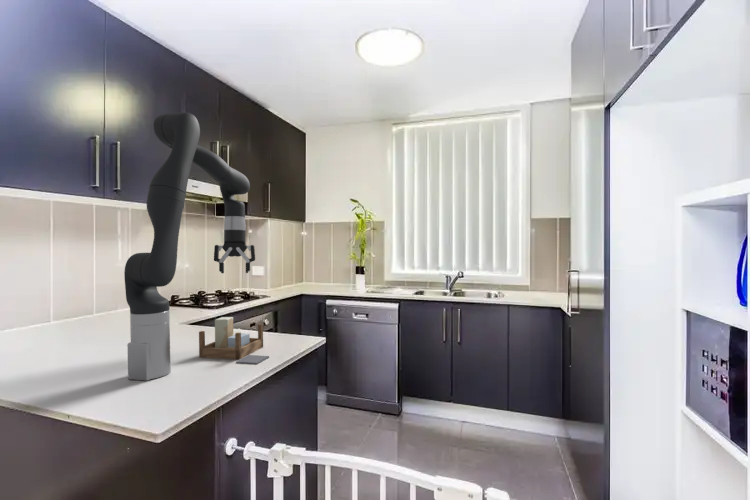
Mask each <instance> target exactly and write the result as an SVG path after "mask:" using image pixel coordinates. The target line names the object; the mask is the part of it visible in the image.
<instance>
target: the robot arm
mask: <svg viewBox="0 0 750 500" xmlns="http://www.w3.org/2000/svg"><path fill="white" fill-rule="evenodd" d="M153 131H154V134H155V136H156V138H157V139H158V140H159V141H160V143H162V144H164V145H165V146H166V147H168V148H170V149H171V151H170V154H169V155H168V157H167V158H166V160H165V161H164V163H163V164H162V165H161V166H160V167H159V169H158V170H157V171H156V173H155V174H154V175H153V177H152V179H151V180H150V183H149V187H148V191H147V192H148V193H147V198H146V210H147V213H148V216H149V219H150V221H151V225H152V227H153V242H152V247H151V249H150V250H151V251H150V252H137V253H134V254H132V255H131V256H130V257H128V259H127V260H126V262H125V266H124V271H123V273H124V288H125V289H124V290H125V299H126V303H127V304H128V306H129V313H130V314H129V319H130V320H129V321H130V341H129V342H128V343H127V345H126V346H127V378H128V380H133V381H134V380H137V381H150V380H152V379H158V378H162V377H164V376H167V375H169V374H170V373H171V370H172V369H171V368H172V367H171V365H172V364H171V330H170V329H171V328H170V327H171V326H170V325H171V323H170V321H171V320H170V319H171V317H170V314H171V313H170V301H169V299H167V298H166V297H164V296H162V295H161V294H160V293H159V291H158V288H161V287H166V286H167V285H169V284H171V282H172V280H173V279H174V277H175V274H176V269H177V262H178V261H177V260H178V246H179V235H180V228H181V221H182V217H183V216H182V215H183V211H184V206H185V200H186V195H187V188H188V182H189V178H190V174H191V173H190V172H191V169H192V163H194V164H195V165H196V166H197V167H200V169H202V170H203V171H204V172H205V173H206V174H208V176H210V177H211V178H212V179H213V180H214V181H216V182H217V183H219V191H220V193H221V196H222V201H223V204H224V220H223V222H224V223H223V245H219V244H214V249H213V250H214V252H213V262H216V263H217V262H218V266H219V269H218V270H219V272H220V274H225V263H224V262H225V260H226V259H228V257H231V258H232V257H235V258H236V257H242V259H244V261H245V274H248V273H249V272H250V271H251V263H252V262H255V261H256V249H255V245H254V244H250V245H247V243H246V242H247V241H246V237H247V235H246V233H247V232H246V231H247V230H246V229H247V226H246V224H247V223H246V205H245V202H243V201H241V200H236V198H235V196H236V195H237V196H239V195H245V194H247V193H249V191H250V188H251V185H250V184H251V183H250V181H249V178H248V177H247V176H246V175H245V174H243V173H242V172H240V171H239V170H237V169H235V168H233V167H231V166H230V164H228V163H227V162H226V161H225V160H224V159H222V157H220V156H219V155H218V154H216V153H215V152H213V151H212V150H209V149H208V148H206V147H203V146H202V145H199V140H200V136H201V128H200V123H199V121H198V119H197V117H196V116H195V115H194V114H192V113H190V112H187V111H186V112H184V111H183V112H182V111H181V112H173V113H171V112H170V113H164V114H159V115H158V116H156V118H154V120H153ZM247 249H248V251H249V252H250V258H249V256H248V255H247V254H246V253H245V252H246V250H247ZM222 250H224V253H223V255H222V256H221V258H220V252H221V251H222ZM157 287H158V288H157Z"/></svg>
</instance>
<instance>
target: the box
mask: <svg viewBox="0 0 750 500" xmlns="http://www.w3.org/2000/svg"><path fill="white" fill-rule="evenodd" d="M233 335H234V316H221V317H219V318H216V319H214V342H215V348H227V347H228V337H231V336H233Z"/></svg>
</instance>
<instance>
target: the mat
mask: <svg viewBox="0 0 750 500" xmlns="http://www.w3.org/2000/svg"><path fill="white" fill-rule="evenodd" d="M269 358H270V356H269V355H258V354H256V355H255V354H249V355H247V356H245V357H243V358H241V359H239V360H238V359H237V361H236V360H235V364H247V365H258V364H261V363H263V361H265V360H267V359H269Z"/></svg>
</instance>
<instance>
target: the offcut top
mask: <svg viewBox="0 0 750 500" xmlns="http://www.w3.org/2000/svg"><path fill="white" fill-rule="evenodd" d="M240 333H241V347H242V346H244V345H246V344H248V343H250V338H251V336H250V333H242V332H240ZM228 347H235V334H233V336H231V337H228Z"/></svg>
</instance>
